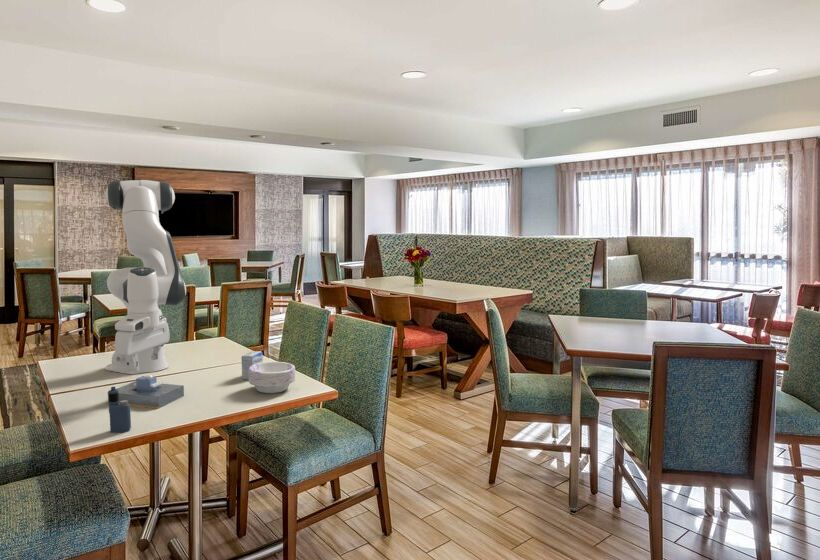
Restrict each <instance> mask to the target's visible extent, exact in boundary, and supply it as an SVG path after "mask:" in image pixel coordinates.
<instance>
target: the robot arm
mask: <svg viewBox="0 0 820 560" xmlns="http://www.w3.org/2000/svg"><path fill="white" fill-rule="evenodd" d="M105 200H106V202H107V203H108V206H109V207H110V208H111V209H113V210H116V211H122V226H123V231H124V234H125V235H126V249H127V251H128V252H129V253H130V255H132V256H134V257H136V258H139V259H141V262H142V265H143V266H139V267H134V266H133V267H124V268H120V269H115V270H112V271H111V272H110V273H109V275H108V277H107V279H106V285H107V289H108V291H109V293H111V295H113V297H116V298H117V299H119V300H120V301H121V302H122V303H123V305H124V306H125V308H126V311H127V314H126V315H125V316H124V317H123V318H122V319H120V320H118V321H117V322H116V323H115V324H114V329H115V330H116V331H117V332H116V333H115V337H114V338H115V339H114V346H115V347H114V350H115V351H114V352H113V354H112V357H111V363H110V364H108V365H106V366H105V367H104V370H105V371H110V372H115V373H121V374H126V375H137V374H143V373H152V372H158V371H161V370H165V369H167V368H169V366H170V365H169V362H168V360H167V356H166V355H167V354H166V351H165V344H167V343H169V341H170V339H171V338H170V337H171V336H170V328H169V323H168V320H167V318H166V316H164V315H163V312H162V310H161V309H160V307H159V305H165V306H177V305H179V304H180V303H181V302H183V301H184V300H185V299H186V295H187V285H186V283H185V281H184V278H183V275H182V272H181V268H180V264H179V261H178V257H177V253H176V248H175V245H174V242H173V239H172V236H171V234H170V232H169V231H167V230H166V229H164V227H163V226H162V225H161V222H160V217H159V216H160V215H159V214H160V213H161V214H164V212H167V211H169V210H171V208H173V205H174V203H175V200H176V195H175V191H174V188H173V187H172V184H170V183H169V182H166V181H162V180H160V181H157V180H149V179H140V180H135V179H134V180H133V179H131V180H120V179H119V180H113V181H110V182H109V183H108V184H107V186H106V189H105ZM159 211H161V212H160V213H159Z"/></svg>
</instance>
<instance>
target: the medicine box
mask: <svg viewBox="0 0 820 560" xmlns="http://www.w3.org/2000/svg"><path fill="white" fill-rule="evenodd" d="M263 362H264V359H263V351H256V350H255V351H250V352H248V353H246V354H244V355H242V356H241V379H242V380H248V381H249V368H250V366H252V365H254V364H258V363H263Z"/></svg>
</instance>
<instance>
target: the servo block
mask: <svg viewBox="0 0 820 560" xmlns="http://www.w3.org/2000/svg"><path fill="white" fill-rule="evenodd" d="M157 380H158V379H157V377H156V376H153V375H152V374H148V375H146V376H145V375H144V376H140V377H137V378H135V381H136V383H134V386H136V389H137V391H142V392H152V391H154V390H156V389H157V386H158V385H160V384H161V383H160V382H157Z"/></svg>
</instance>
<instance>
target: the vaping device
mask: <svg viewBox="0 0 820 560" xmlns="http://www.w3.org/2000/svg"><path fill="white" fill-rule="evenodd" d="M108 394H109V404H108V413H109V426H110V427H109V428H110V431H109V432H110V433H127V432H130V430H131V428H132V423H131V422H132V421H131V420H132V419H131V406H129V404H128V400H122V401H120V403H119V394H118V390H117V388H116V386H111V387H110V389H109V390H108V392H107V395H108Z"/></svg>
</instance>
